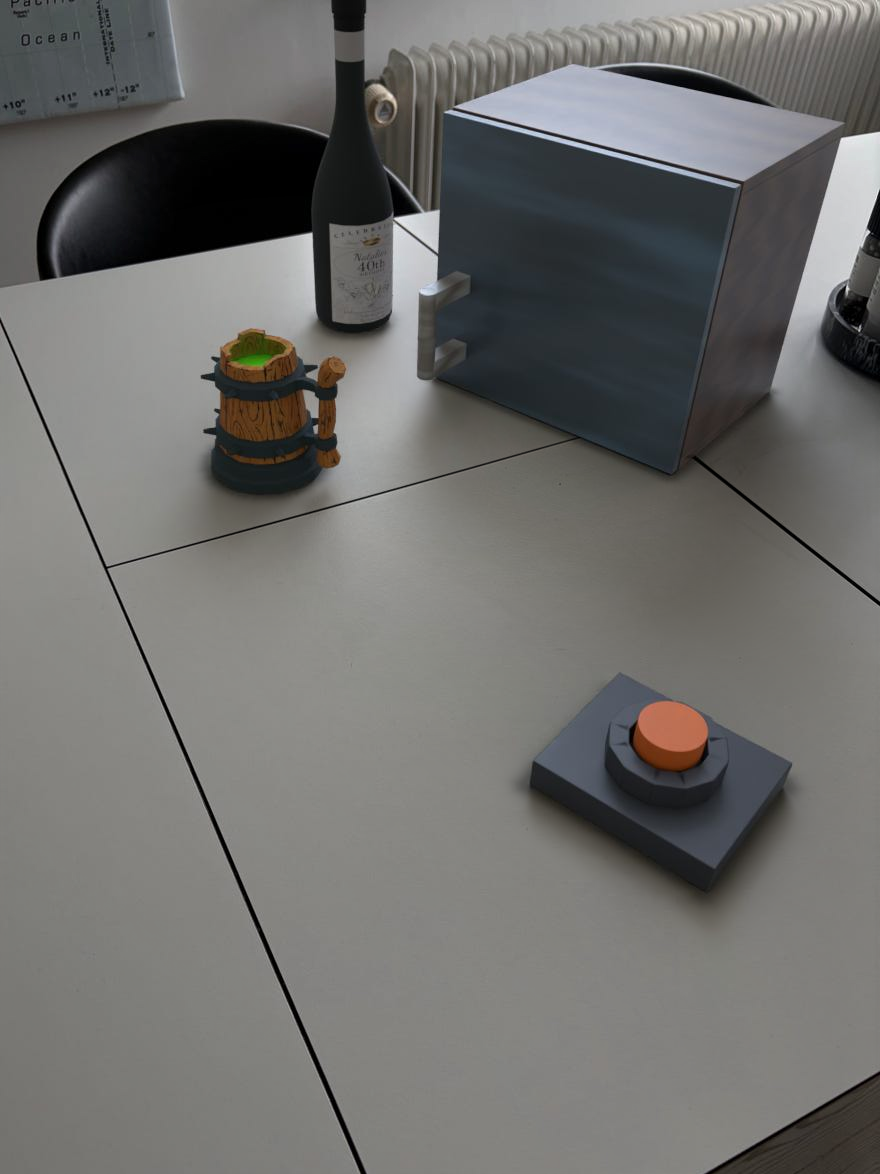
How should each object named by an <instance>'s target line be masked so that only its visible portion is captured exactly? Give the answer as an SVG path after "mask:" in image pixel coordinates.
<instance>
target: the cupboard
mask: <svg viewBox="0 0 880 1174" xmlns="http://www.w3.org/2000/svg"><path fill="white" fill-rule="evenodd" d="M451 110H453V111H457V112H461V113H465V114H469V115H472V116H476V117H480V118H484V119H488V120H492V121H496V122H500V123H504V124H507V125H511V126H515V127H519V128H523V129H527V130H531V131H535V132H539V133H542V134H546V135H550V136H554V137H558V138H562V139H566V140H570V141H574V142H577V143H581V144H585V145H589V146H593V147H597V148H601V149H605V150H608V151H612V152H616V153H620V154H624V155H628V156H632V157H636V158H640V159H643V160H647V161H651V162H655V163H659V164H663V165H667V166H671V167H675V168H678V169H682V170H686V171H690V172H694V173H698V174H702V175H706V176H710V177H713V178H717V179H721V180H725V181H729V182H733V183H737V184H741V185H742V186H741V191H740V195H739V199H738V204H737V208H736V213H735V217H734V221H733V226H732V230H731V235H730V239H729V243H728V248H727V252H726V257H725V261H724V265H723V270H722V274H721V278H720V283H719V287H718V292H717V296H716V300H715V305H714V309H713V314H712V318H711V322H710V327H709V331H708V336H707V340H706V344H705V349H704V353H703V358H702V362H701V366H700V371H699V375H698V380H697V384H696V388H695V393H694V397H693V402H692V406H691V410H690V415H689V419H688V424H687V428H686V432H685V437H684V441H683V446H682V450H681V454H680V459H679V463H678V468H677V470H678V471H679V470H681V468H683V467H684V466H685V465H687V464H688V462H690V461H691V460H692V459H693V458H694V457H695V456H697V455H698V454H699V453H700V452H701V451H702V450H703V449H705V448H706V447H707V446H708V445H710V443H712V442H713V441H714V440H715V439H717V437H719V436H720V435H721V434H722V433H723V432H725V431H726V430H727V429H728V428H729V427H731V426H732V425H733V423H735V422H736V421H737V420H738V419H739V418H741V417H742V416H743V415H744V414H745V413H746V412H748V411H749V410H750V409H751V408H752V407H754V406H755V405H756V404H757V403H758V402H759V401H761V400H762V399H763V398H764V397H766V395H768V394H769V393H770V392H771V389H772V386H773V385H772V384H773V381H774V378H775V375H776V371H777V367H778V364H779V360H780V357H781V353H782V349H783V346H784V342H785V339H786V335H787V332H788V328H789V325H790V322H791V318H792V314H793V311H794V308H795V304H796V300H797V297H798V293H799V290H800V286H801V282H802V279H803V276H804V272H805V268H806V264H807V261H808V257H809V254H810V251H811V246H812V243H813V240H814V236H815V232H816V230H817V225H818V222H819V218H820V215H821V211H822V207H823V205H824V201H825V198H826V193H827V190H828V187H829V183H830V179H831V177H832V172H833V169H834V165H835V161H836V158H837V154H838V151H839V148H840V144H841V140H842V136H843V133H844V130H845V126H846V122H844V121H839V120H834V119H830V118H825V117H819V116H816V115H811V114H806V113H801V112H797V111H793V110H787V109H783V108H778V107H774V106H769V105H765V104H761V103H756V102H751V101H747V100H741V99H737V98H732V97H727V96H723V95H718V94H714V93H709V92H705V91H701V90H700V91H699V90H695V89H691V88H686V87H682V86H681V87H680V86H676V85H672V84H667V83H662V82H658V81H653V80H648V79H643V78H640V77H635V76H631V75H625V74H621V73H617V72H612V71H606V70H604V69H603V70H602V69H597V68H593V67H588V66H584V65H579V64H575V63H571V64H568V65H566V66H562V67H560V68H557V69H554V70H552V71H549V72H546V73H543V74H540V75H538V76H534V77H532V78H530V79H527V80H523V81H521V82H518V83H515V84H513V85H510V86H507V87H504V88H502V89H499V90H496V91H493V92H490V93H487V94H484V95H482V96H479V97H477V98H474V99H471V100H468V101H466V102H465V101H464V102H463V103H460V104H457V105H455V106H452V109H451ZM677 470H676V471H677Z"/></svg>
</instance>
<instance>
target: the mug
mask: <svg viewBox="0 0 880 1174" xmlns="http://www.w3.org/2000/svg"><path fill="white" fill-rule="evenodd" d="M210 360H212V361H213V362H215V365H214V366H213V372H210V373H204V374H200V380H205V381H210V382H214V387H215V388H216V389H217V390H218V391H219V408H216V407H215V408H214V409H213V412H214V413H216V414H218V415H217V417H216V418H215V426H213V427H209V428H204V429H202V433H203V434H207V435H212V436H215V439H214V447H213V448H212V449H211V452H210V453H211V454H210V466H211V472H212V473H213V475H214V476H215V478H216V479H217V481H218V482H219V483H220V484H222V485H224V486H226V487H228V488H230V489H232V490H233V491H236V492H239V493H241V492H242V493H246V494H251V495H252V494H253V495H256V496H257V495H279V494H283V493H287V492H291V491H293V490H297V489H300V488H302V487H303V486H305V485H308V483H310V482H312V481H313V480H315V479H316V478H317V476H319V473H320V472H321V470H322V469H330V468H335V467H337V466H339V464H340V462H341V459H342V456H341V454H340V452H339V450H338V449H337V447H338V443H339V442H338V436H337V433H335V428H336V423H337V405H336V403H337V402H336V399H337V397H338V393H339V390H338V389H339V388H338V387H339V386H338V382H339V381H340V380H342V379H344V377H345V375H346V371H347V367H346V364H345V362H344V361H343V360H342V359H341V358H339V357H337V356H334V355H333V356H329V357H325V358H324V359H323V360H322V362H321V363H320V366H319V365H318V364H305V363H304V360H303V358H301V357H300V356H299V355H298V354H297V350H296V346H295V345H294V344H293V343H292V342H291V341H290V340H288V339H287V338H282V337H281V336H277V335H270V334H266V330H265V329H259V328H253V327H252V328H251V327H250V328H248V329H245V330H243V331H240V332H238V333H237V338H235V339H232V340H231V341H228V342H226V343H225V344H224V345H220V346H219V356H214V355H211V357H210ZM316 370H318V372H317V380H315V379H314V378H311V377H307V374H308V373H312V372H313V371H316ZM304 391H308V392H311V393H313V394H314V397H315V398H316V399H318V406H317V407H318V411H317V417H312V414H311V411H310V410H309V409H308V408H307V405H306V399H305V395H304ZM316 426H317V433H315V428H314V427H316Z"/></svg>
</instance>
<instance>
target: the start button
mask: <svg viewBox="0 0 880 1174" xmlns="http://www.w3.org/2000/svg"><path fill="white" fill-rule="evenodd" d="M677 702H678V701H677ZM677 702H671V701H661V702H655V703H652V704H650V705H648V706H647V707H645V708H644V709H643V710H642V711H641V713H640V715H639V717H638V721H637V725H636V729H635V733H634V737H633V745H634V748H635V750H636V752H637V754H638V755H639V757H640V758H641V759H642V760H643V761H645V762H646V763H647V764H649V765H651V766H653V767H655V768H657V769H660V770H665V771H672V772H679V771H684V770H687V769H690V768H692V767H693V766H695V765H696V764H697V763H698V762H699V760H700V758H701V756H702V753H703V750H704V746H705V743H706V740H707V737H708V727H707V724H706V722H705V720H704V719H703V717H702V716H701V715H700V714H699V713H698V712H696V711H695V710H694V709H695V708H694V709H692V708H690V707H688V706H686V705H684V704H681V703H677Z"/></svg>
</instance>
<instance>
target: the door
mask: <svg viewBox="0 0 880 1174" xmlns="http://www.w3.org/2000/svg"><path fill="white" fill-rule="evenodd" d="M441 139H442V140H441V160H440V161H441V163H440V165H441V166H440V188H439V190H440V191H439V192H440V193H439V214H438V215H439V217H438V218H439V219H438V241H437V242H438V243H437V245H438V246H437V266H436V268H437V269H436V270H437V273H436V281H434V282H432V283H430V284H428V285H425V286H424V287H422V288H420V289H419V291H418V311H417V312H418V313H417V314H418V316H417V350H416V351H417V353H416V354H417V357H416V377H417V379H419V380H421V381H431V380H433V379H435V378H437V379H439V380H442V381H444V382H447V383H449V384H451V385H454V386H456V387H459V388H462V389H463V390H465V391H468V392H471V393H473V394H476V395H478V396H481V397H482V398H485V399H488V400H490V401H492V402H495V403H497V404H499V405H502V406H504V407H507V408H509V409H512V410H514V411H516V412H518V413H521V414H524V415H526V416H529V417H531V418H533V419H536V420H538V421H541V422H543V423H545V424H548V425H550V426H553V427H555V428H558V429H560V430H563V431H566V433H567V432H568V433H570V434H572V435H574V436H577V437H579V438H582V439H585V440H587V441H589V442H591V443H594V444H596V445H599V446H602V447H604V448H606V449H609V450H611V451H614V452H616V453H618V454H621V455H623V456H625V457H628V458H631V459H632V460H635V461H637V462H640V463H643V464H645V465H647V466H650V467H652V468H655V469H657V470H660V471H661V472H664V473H667V474H669V475H673V474H674V473H675V472H676V471H677V468H678V463H679V459H680V454H681V450H682V446H683V441H684V437H685V432H686V428H687V424H688V419H689V415H690V410H691V406H692V402H693V397H694V393H695V388H696V384H697V380H698V375H699V371H700V366H701V362H702V358H703V353H704V349H705V344H706V340H707V336H708V331H709V327H710V322H711V318H712V314H713V309H714V305H715V300H716V296H717V292H718V287H719V283H720V278H721V274H722V270H723V265H724V261H725V257H726V252H727V248H728V243H729V239H730V235H731V230H732V226H733V221H734V217H735V213H736V208H737V204H738V199H739V195H740V191H741V186H742V185H741V184H737V183H733V182H729V181H725V180H721V179H717V178H713V177H710V176H706V175H702V174H698V173H694V172H690V171H686V170H682V169H678V168H675V167H671V166H667V165H663V164H659V163H655V162H651V161H647V160H643V159H640V158H636V157H632V156H628V155H624V154H620V153H616V152H612V151H608V150H605V149H601V148H597V147H593V146H589V145H585V144H581V143H577V142H574V141H570V140H566V139H562V138H558V137H554V136H550V135H546V134H542V133H539V132H535V131H531V130H527V129H523V128H519V127H515V126H511V125H507V124H504V123H500V122H496V121H492V120H488V119H484V118H480V117H476V116H472V115H469V114H465V113H461V112H457V111H453V110H452V109H449V110H445V111H443V113H442V136H441Z"/></svg>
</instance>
